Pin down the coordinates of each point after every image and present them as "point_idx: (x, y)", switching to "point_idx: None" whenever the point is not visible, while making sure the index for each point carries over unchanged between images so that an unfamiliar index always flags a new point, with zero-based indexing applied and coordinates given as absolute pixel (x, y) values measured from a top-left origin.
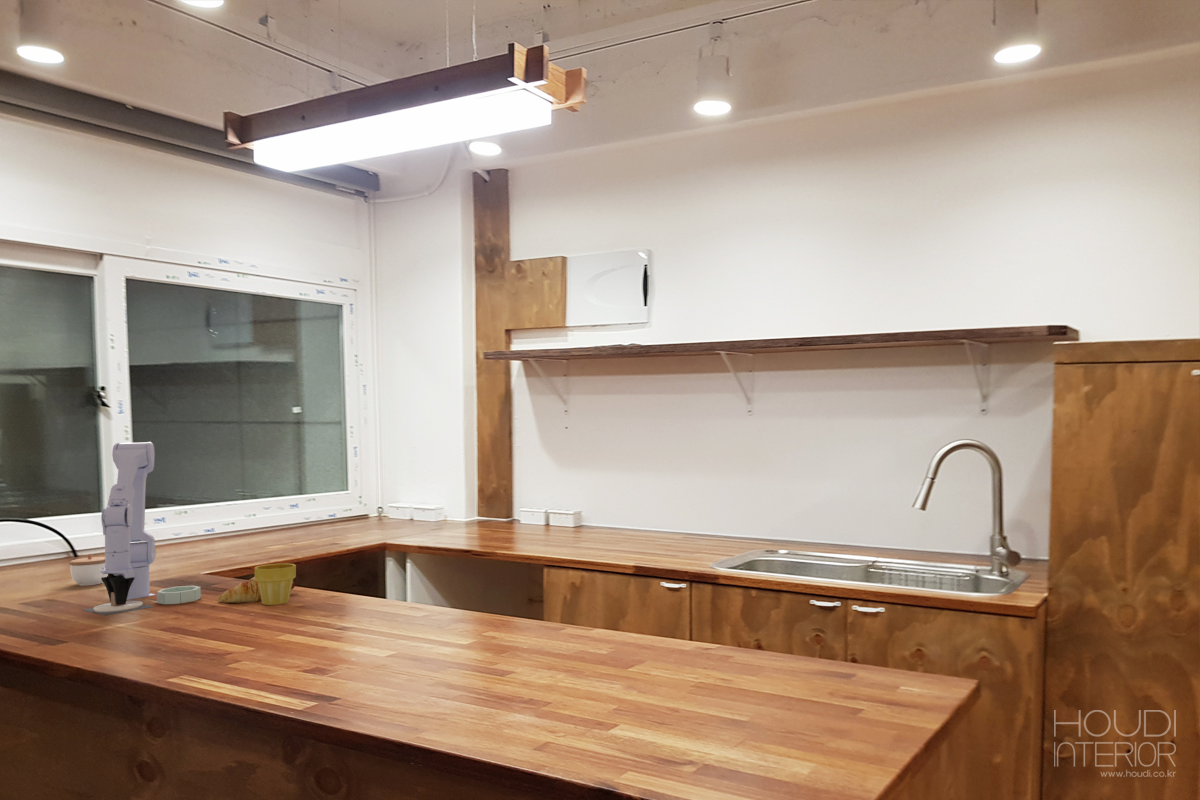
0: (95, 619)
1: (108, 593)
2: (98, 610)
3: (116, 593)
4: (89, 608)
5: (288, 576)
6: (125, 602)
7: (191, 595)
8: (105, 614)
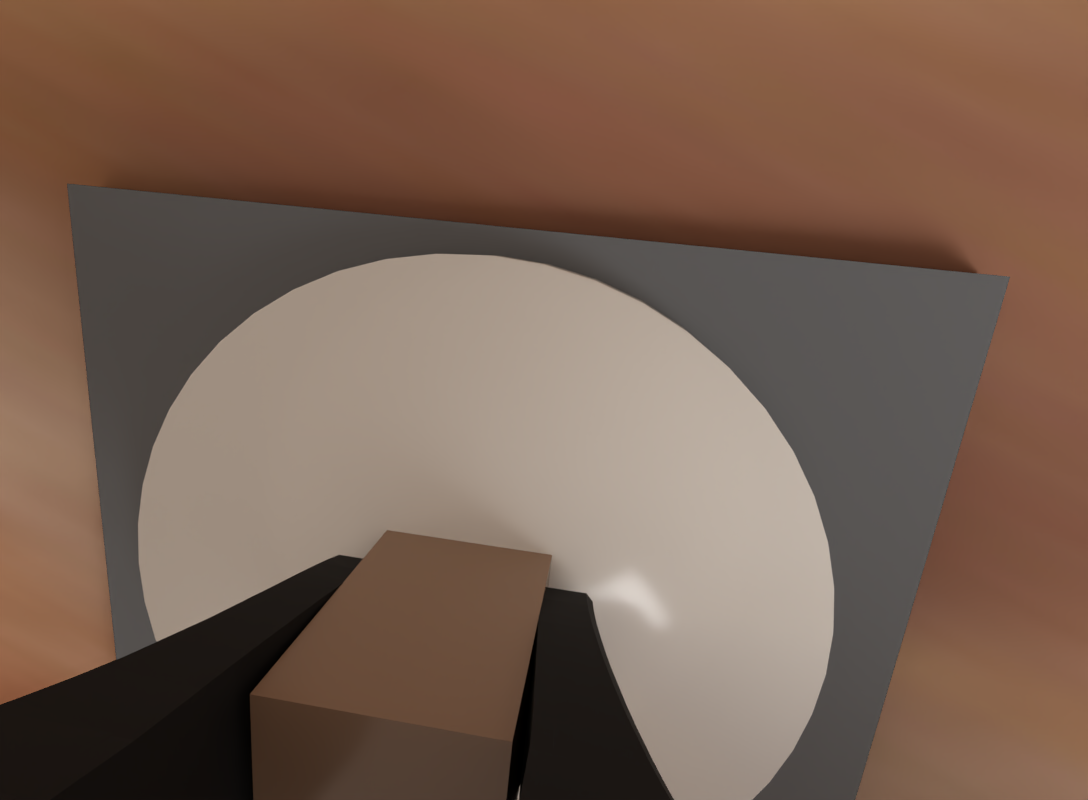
0: (111, 40)
1: (592, 700)
2: (400, 259)
3: (128, 655)
4: (968, 401)
5: None
6: None
7: None
8: (136, 218)
